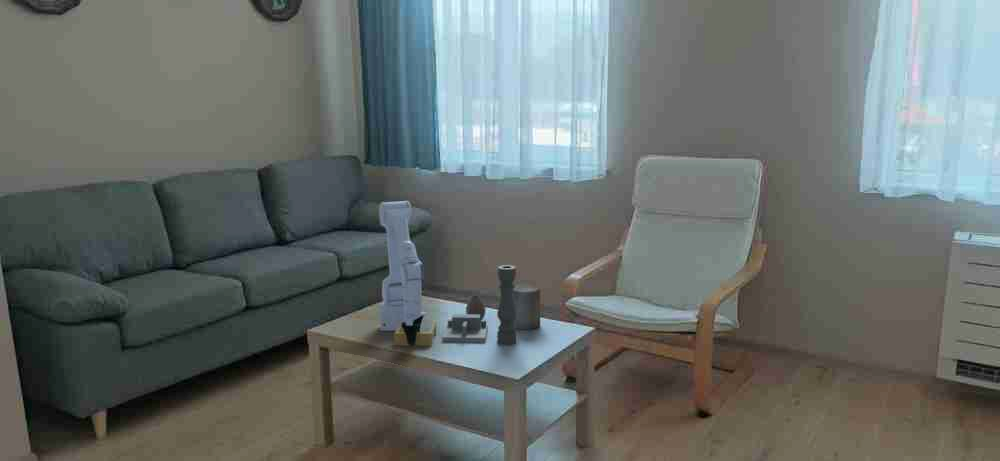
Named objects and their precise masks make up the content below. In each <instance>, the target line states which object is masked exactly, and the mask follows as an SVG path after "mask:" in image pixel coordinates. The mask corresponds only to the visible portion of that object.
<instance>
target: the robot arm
mask: <svg viewBox="0 0 1000 461" xmlns="http://www.w3.org/2000/svg"><path fill="white" fill-rule="evenodd" d="M411 205H412V204H411V203H410V201H409V200H403V201H401V200H400V201H386V202H385V201H381V202H380V204H379V208H378V211H379V212H378V213H379V216H378V218H379V223H380V226H382V227H383V228H385V231H386V242H387V243H386V244H387V245H386V246H387V253H388V254H387V256H388V257H387V258H388V270H389V274H388V275H387V277H385V278H384V279H383V280H382V283H381V284H382V285H381V287H382V288H381V298H382V301H383V302H381V305H380V331H385V332H386V331H390V332H392V331H394V332H396V330H397V328H398V326H399V325H400V323H401V322H402V328H403V332H405V334H406V338H407V342H408V344H410V345H413V346H414V345H415V344H416V343H417V341H416V334H417V332H421V325H422V321H423V318H424V317H425V316H426V315H427V314H426V311H423V310H422V308H423V307H422V305H423V304H422V302H423V301H422V300H423V299H422V280H423V279H424V266H423V263H422V262H421V260H420V258H419V256H418V254H417V253H418V252H417V250H416V245H415V244H414V243H413V242H412V241H411V238H410V231H409V224H408V223H410V219H411V216H412V206H411ZM399 332H401V329H400V331H399Z"/></svg>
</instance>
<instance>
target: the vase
mask: <svg viewBox="0 0 1000 461" xmlns="http://www.w3.org/2000/svg"><path fill="white" fill-rule="evenodd" d="M465 312H466V313H465V314H475V315H480V322H481V320H484V318H485V316H486V305H485V303H484V302H483V300H482V299H481V298H480V295H472V296H471V298H470V300H469V301H468V302H467V305H466V307H465Z"/></svg>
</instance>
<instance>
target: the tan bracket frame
mask: <svg viewBox="0 0 1000 461" xmlns="http://www.w3.org/2000/svg"><path fill="white" fill-rule="evenodd" d="M400 329H401V331H400ZM433 335H434V336H436V335H437V322H433V324H432V326H431V329H430V330H429V331H420V332H417V334H416V346H424V347H425V346H426V347H427V346H428V347H429V346H433ZM410 345H411V344H408V342H407V338H406V334H405V331H403V328H402V322H401V323H400V325H399V326H398V328H397V330H396V331H394V346H410Z"/></svg>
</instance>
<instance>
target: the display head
mask: <svg viewBox="0 0 1000 461" xmlns="http://www.w3.org/2000/svg"><path fill="white" fill-rule="evenodd" d="M488 327H489V326H488V324H487V319H482V320H481V321H480V315H475V314H466V313H465V314H464V313H462V314H461V313H459V314H455V313H454V314H452V317H451V318H450V319H448V320H447V324H446V326H445V329H444V332H443V335H442V342H444V343H445V342H447V343H449V342H450V343H453V342H454V343H486V341H487V334H488V330H489V328H488Z"/></svg>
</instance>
